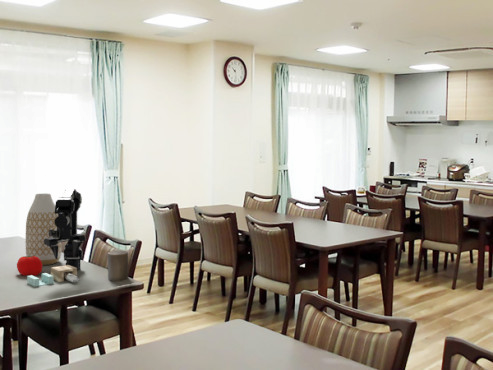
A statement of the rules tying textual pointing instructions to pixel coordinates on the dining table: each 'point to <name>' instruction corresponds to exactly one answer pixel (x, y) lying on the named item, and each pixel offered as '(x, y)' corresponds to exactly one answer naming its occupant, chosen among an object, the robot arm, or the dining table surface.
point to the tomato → (29, 265)
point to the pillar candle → (117, 265)
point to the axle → (71, 277)
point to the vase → (41, 229)
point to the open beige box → (62, 272)
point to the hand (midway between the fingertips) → (65, 257)
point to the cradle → (45, 280)
